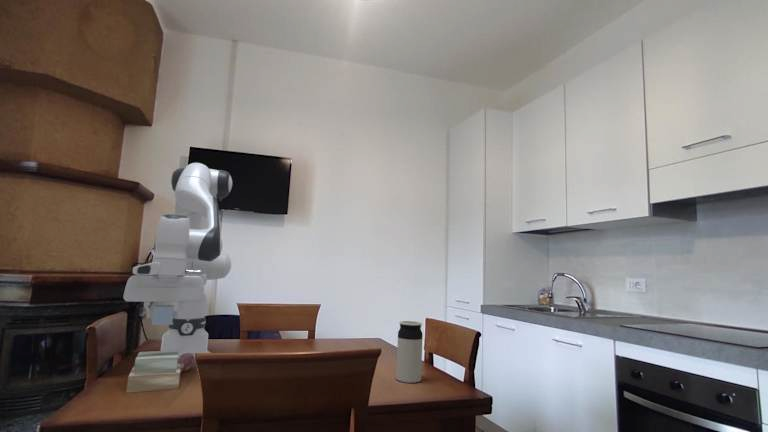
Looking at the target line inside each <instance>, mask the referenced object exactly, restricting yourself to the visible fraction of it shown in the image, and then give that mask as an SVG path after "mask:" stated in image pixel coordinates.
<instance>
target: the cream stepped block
mask: <svg viewBox="0 0 768 432" xmlns="http://www.w3.org/2000/svg"><path fill="white" fill-rule="evenodd" d="M178 351H179V350H172V351H161V350H152V351H149V350H148V351H139V352H138V354H137V356H136V357H135V360H134V365H133V367H132V368H131V371H130V373H129V375H127V384H126V394H128V393H138V392H151V391H165V390H175V389H176V390H177V389H178V390H179V388H180V387H179V386H180V377H181V373H180V367H181V363H177V361H178Z"/></svg>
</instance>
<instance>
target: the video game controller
mask: <svg viewBox="0 0 768 432" xmlns="http://www.w3.org/2000/svg"><path fill="white" fill-rule="evenodd" d="M193 355H194V354H192V353H186V354H183V355H181V356H180V357H178V361H177V363H181V367H180V374H181V373H182V372H183V371H184V372H188V371H189V369H190V368H191V367H192V366H193V365H195V364H196V363H195V360H194V356H193Z"/></svg>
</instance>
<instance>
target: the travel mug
mask: <svg viewBox="0 0 768 432" xmlns="http://www.w3.org/2000/svg"><path fill="white" fill-rule="evenodd" d="M398 323H399V329H398V332H397V350H396V351H397V352H396V372H395V373H396V375H395V377H396V380H398V381H399V382H402V383H406V384H415V383H416V382H417V383H419V382H420V381H422V360H423V359H422V357H423V332H422V329H421V328H422V325H423V323H422V322H420V321H412V320H402V321H401V320H400V321H399V322H398Z"/></svg>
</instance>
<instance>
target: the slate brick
mask: <svg viewBox="0 0 768 432" xmlns="http://www.w3.org/2000/svg"><path fill="white" fill-rule="evenodd" d="M152 310H153V316H152V318H151V323H150V324H151V326H169V325H172V321H173V312H174V305H172V304H155V305H154V306H153V309H152Z"/></svg>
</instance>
